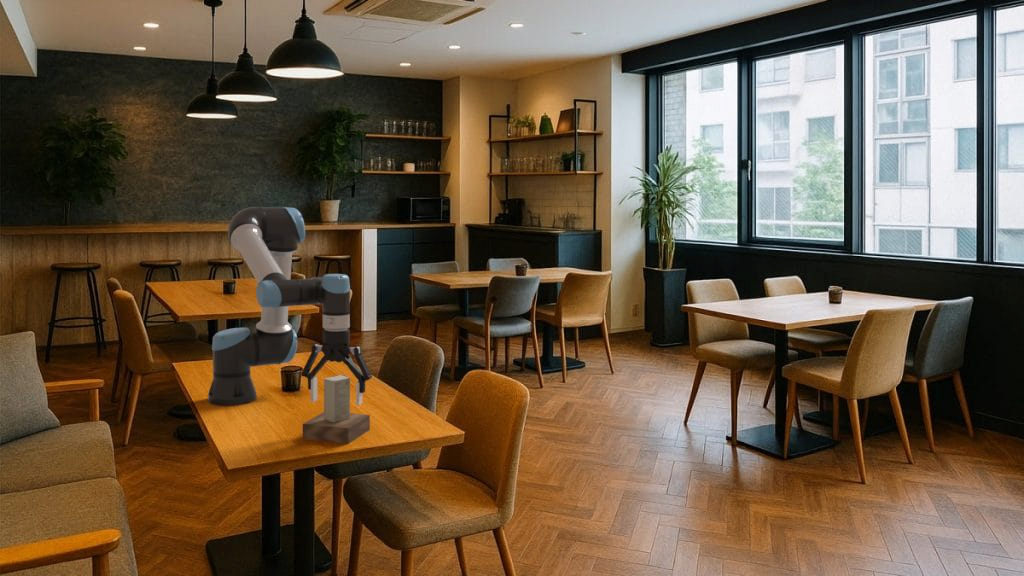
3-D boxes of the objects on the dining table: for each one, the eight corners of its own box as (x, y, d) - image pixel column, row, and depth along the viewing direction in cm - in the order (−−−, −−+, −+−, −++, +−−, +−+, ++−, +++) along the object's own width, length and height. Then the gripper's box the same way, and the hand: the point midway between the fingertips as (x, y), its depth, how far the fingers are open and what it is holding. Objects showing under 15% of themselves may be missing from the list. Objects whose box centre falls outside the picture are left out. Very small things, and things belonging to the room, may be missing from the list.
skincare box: (341, 415, 234) (341, 374, 232) (350, 418, 231) (351, 377, 229) (323, 419, 229) (323, 377, 228) (332, 423, 226) (332, 380, 225)
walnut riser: (302, 441, 226) (302, 423, 225) (326, 427, 239) (326, 410, 238) (348, 445, 222) (348, 428, 222) (369, 431, 236) (369, 415, 235)
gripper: (288, 328, 226) (289, 402, 228) (373, 333, 221) (373, 408, 224) (300, 324, 233) (301, 396, 235) (382, 329, 229) (382, 401, 231)
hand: (336, 402), depth 229 cm, fingers open, 13 cm apart
